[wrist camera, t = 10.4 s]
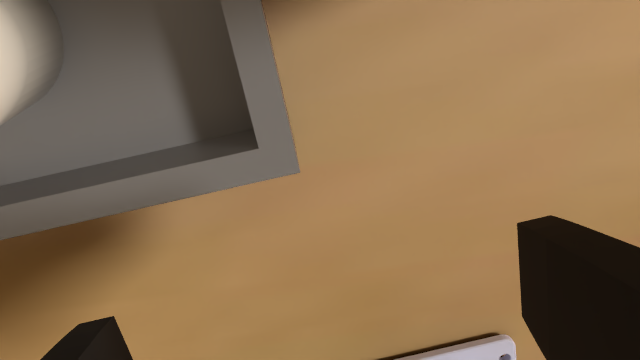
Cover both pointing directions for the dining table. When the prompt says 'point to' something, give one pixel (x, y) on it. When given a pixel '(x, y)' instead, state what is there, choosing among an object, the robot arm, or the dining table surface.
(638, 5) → the dining table surface
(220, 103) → the tray
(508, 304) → the dining table surface
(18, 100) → the salt shaker
